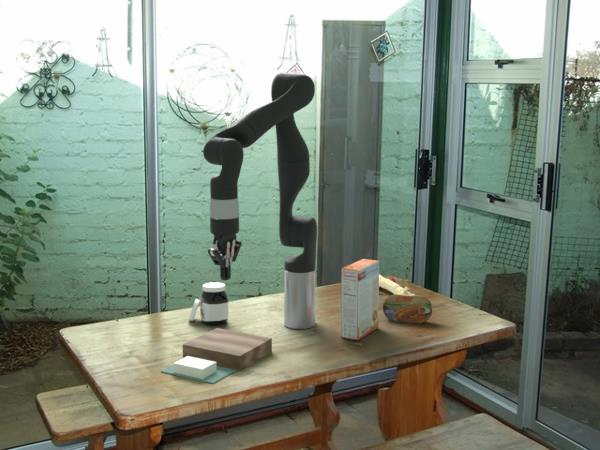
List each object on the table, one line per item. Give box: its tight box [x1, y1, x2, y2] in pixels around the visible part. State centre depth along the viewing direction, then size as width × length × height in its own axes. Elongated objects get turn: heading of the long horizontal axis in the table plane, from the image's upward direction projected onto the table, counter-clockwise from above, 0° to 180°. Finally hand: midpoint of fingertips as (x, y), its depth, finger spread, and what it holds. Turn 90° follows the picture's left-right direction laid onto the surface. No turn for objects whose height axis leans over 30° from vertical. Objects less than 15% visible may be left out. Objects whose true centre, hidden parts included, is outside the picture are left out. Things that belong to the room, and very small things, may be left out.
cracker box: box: [340, 258, 380, 341], centre depth 229 cm, size 14×6×21 cm, turn 149°
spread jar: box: [188, 281, 230, 326], centre depth 240 cm, size 12×11×12 cm
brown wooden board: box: [182, 327, 273, 372], centre depth 211 cm, size 16×18×4 cm
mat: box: [160, 364, 237, 385], centre depth 200 cm, size 10×16×1 cm, turn 62°
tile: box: [172, 356, 217, 379], centre depth 199 cm, size 6×9×2 cm, turn 62°
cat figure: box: [379, 274, 416, 295], centre depth 273 cm, size 10×9×25 cm
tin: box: [382, 294, 433, 324], centre depth 242 cm, size 15×3×8 cm, turn 76°
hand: (225, 279), depth 208 cm, fingers closed
